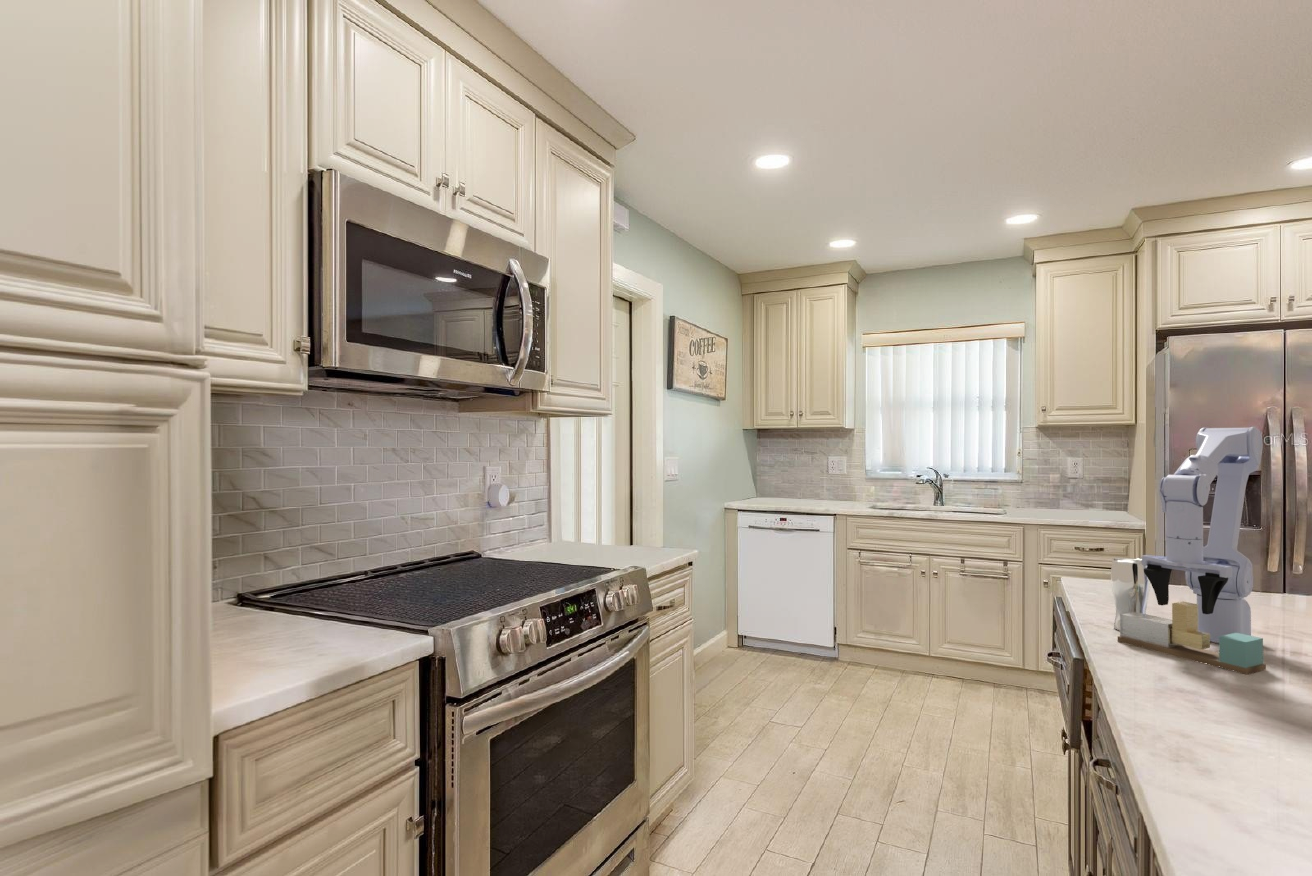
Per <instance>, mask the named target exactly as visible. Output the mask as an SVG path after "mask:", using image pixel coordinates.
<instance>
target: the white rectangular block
mask: <svg viewBox="0 0 1312 876" xmlns="http://www.w3.org/2000/svg"><path fill="white" fill-rule="evenodd" d="M1170 627H1172V618H1171V619H1170V618H1165V617H1160V616H1156V615H1151V614H1142V613H1138V612H1128V613H1122V614H1120V631H1119V636H1122V637H1126V638H1130V639H1134V640H1138V641H1142V642H1146V643H1150V644H1154V645H1158V646H1162V647H1166V648H1171V647H1175V646H1180V645H1181V644H1177V643H1173V642H1170Z"/></svg>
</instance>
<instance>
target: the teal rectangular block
mask: <svg viewBox="0 0 1312 876" xmlns="http://www.w3.org/2000/svg"><path fill="white" fill-rule="evenodd" d="M1218 653H1219V662H1223V663H1227V664H1231V665H1235V666H1239V667H1243V668H1248V667H1252V666H1256V665H1260V664H1263V663H1264V638H1263V637H1258V636H1253V635H1251V636H1250V635H1245V634H1240V633H1233V634H1228V635H1223V636H1219V643H1218Z"/></svg>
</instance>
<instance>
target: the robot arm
mask: <svg viewBox="0 0 1312 876" xmlns="http://www.w3.org/2000/svg"><path fill="white" fill-rule="evenodd" d="M1195 447H1196V450H1197V452H1196V454H1190V456H1188V457H1187V458H1185V459H1184V461H1182V463H1181V464H1180V466H1179V467H1178V468H1177V469H1176V471H1175V472H1174V473H1173V474H1167V475H1166V476H1163V477H1162V478H1161V480H1160V483H1159V489H1158V490H1159V498H1160V501H1161V505H1162V506H1161V510H1162V512H1163V513H1164V516H1165V518H1164V520H1165V522H1164V523H1165V525H1164V526H1165V556H1161V555H1160V556H1159V555H1151V554H1150V555H1149V554H1144V555H1141V556H1140V557H1141V558H1140V559H1141V565H1145V566H1147V568H1144V573H1145V574H1146V576H1147V577H1148V579H1149V581H1150V586H1151V587H1152V589H1153V592H1154V594H1155V597H1156V598H1155V599H1156V601H1157V604H1158V606H1166V605H1169V601H1170V598H1169V597H1170V596H1169V595H1170V594H1169V593H1170V592H1169V591H1170V589H1169V588H1170V587H1169V586H1170V579H1171V575H1172V570H1177V571H1181V572H1182V571H1184V572H1185V575H1184V576H1185V583H1186V585H1187V586H1188V588H1189V589H1190V590H1191V591H1192V593H1193V594H1194V595H1196V604H1198V631H1199V632H1204V633H1209V634H1210V642H1213V643H1216V644H1219V636H1223V635H1228V634H1233V633H1240V634H1245V635H1250V636H1252V610H1251V605H1250V603H1249V602H1248V601H1247V600H1246V598H1247V597H1248V596H1249V595H1251V593H1252V591H1253V587H1254V573H1253V568H1254V566H1253V563H1252V561H1251V560H1250V558H1248V557H1247V556H1245V555H1244V554H1243V553H1242V552H1240V551H1238V545H1239V536H1240V531H1241V523H1242V518H1243V517H1242V516H1243V508H1244V502H1245V496H1246V487H1247V484H1248V480H1249V476H1250V474H1251V473H1255V472H1256V471H1259V469H1260V465H1261V462H1262V454H1263V448H1264V444H1263V436H1262V432H1261V430H1260V429H1259V428H1258V427H1257V426H1251V427H1211V428H1210V427H1202V428H1200V429H1199V430H1198V432H1197V434H1196V437H1195ZM1216 477H1217V479H1216ZM1214 479H1216V480H1217V481H1216V485H1215V491H1214V492H1215V493H1214V498H1213V506H1212V511H1211V518H1210V525H1209V531H1208V537H1207V538H1208V539H1207V544H1206V545H1205V546H1204V506H1205V505H1206V504H1207V503H1208V500H1209V494H1210V491H1211V484H1212V482H1213V481H1214Z"/></svg>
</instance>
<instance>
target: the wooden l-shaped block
mask: <svg viewBox="0 0 1312 876" xmlns="http://www.w3.org/2000/svg"><path fill="white" fill-rule="evenodd" d="M1171 608H1172V609H1171V610H1172V611H1171V612H1172V613H1171V614H1172V617H1171V620H1172V627H1170V642H1173V643H1177V644H1181V645H1185V646H1189V647H1193V648H1198V649H1205V650H1207V649H1210V647H1211V641H1210V634H1209V633H1204V632H1199V631H1198V604H1197V603H1193V602H1187V601H1177V602H1173V603H1171Z"/></svg>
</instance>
